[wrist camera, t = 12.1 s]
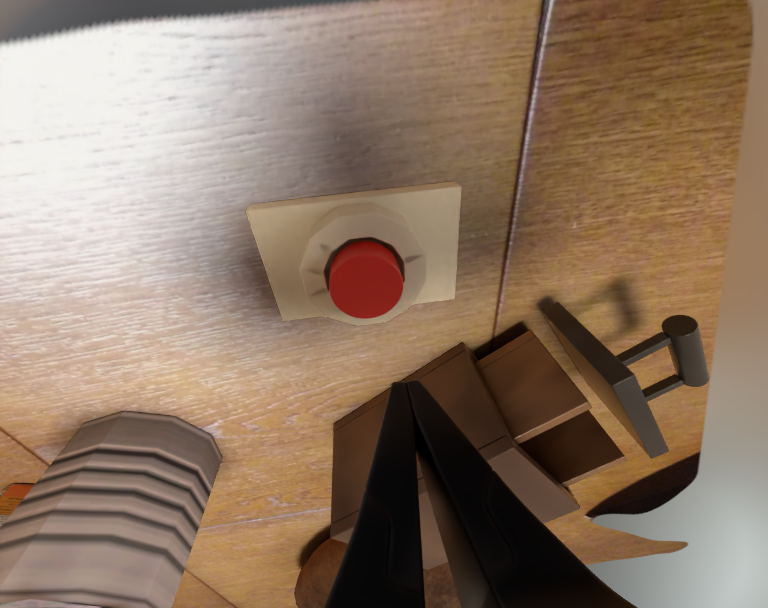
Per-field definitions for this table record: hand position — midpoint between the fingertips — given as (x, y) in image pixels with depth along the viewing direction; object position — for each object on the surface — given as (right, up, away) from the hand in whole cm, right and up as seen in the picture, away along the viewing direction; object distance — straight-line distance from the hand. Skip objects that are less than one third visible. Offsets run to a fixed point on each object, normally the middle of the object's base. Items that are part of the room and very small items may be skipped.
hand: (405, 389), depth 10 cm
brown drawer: (+12, -2, +15) cm, 19 cm away
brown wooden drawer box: (+4, -8, +19) cm, 20 cm away
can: (-21, -10, +17) cm, 29 cm away
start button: (-2, +4, +7) cm, 8 cm away
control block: (-2, +6, +9) cm, 11 cm away
